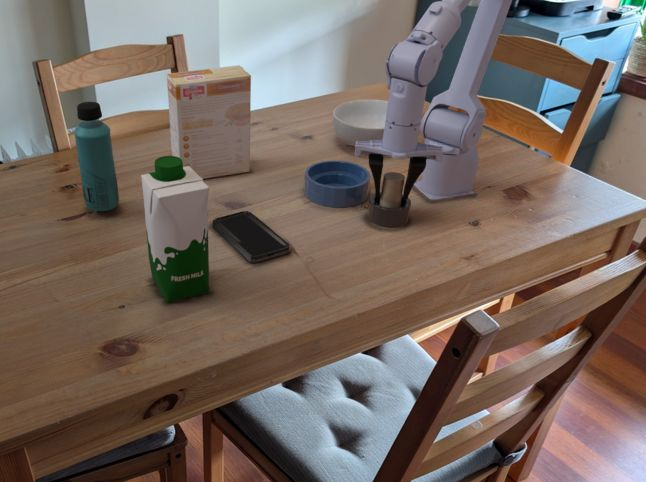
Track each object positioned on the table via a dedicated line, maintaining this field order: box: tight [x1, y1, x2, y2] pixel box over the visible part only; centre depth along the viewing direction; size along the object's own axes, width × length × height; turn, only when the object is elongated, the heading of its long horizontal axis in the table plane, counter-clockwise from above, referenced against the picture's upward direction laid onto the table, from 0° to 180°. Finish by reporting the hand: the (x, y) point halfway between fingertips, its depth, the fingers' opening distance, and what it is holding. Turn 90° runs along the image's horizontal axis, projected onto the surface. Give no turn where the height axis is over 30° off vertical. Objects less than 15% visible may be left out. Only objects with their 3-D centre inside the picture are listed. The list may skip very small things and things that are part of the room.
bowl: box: [303, 160, 372, 208], centre depth 131 cm, size 12×12×4 cm
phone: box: [212, 210, 290, 264], centre depth 120 cm, size 8×1×15 cm
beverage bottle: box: [73, 101, 120, 212], centre depth 122 cm, size 6×7×20 cm
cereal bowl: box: [332, 99, 388, 148], centre depth 150 cm, size 17×17×7 cm
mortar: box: [367, 191, 412, 229], centre depth 124 cm, size 7×7×4 cm
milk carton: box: [140, 155, 210, 304], centre depth 102 cm, size 9×9×20 cm
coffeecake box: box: [166, 64, 252, 180], centre depth 136 cm, size 15×7×20 cm, turn 108°
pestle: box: [380, 171, 406, 208], centre depth 122 cm, size 4×4×8 cm
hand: (391, 195), depth 122 cm, fingers open, 4 cm apart
